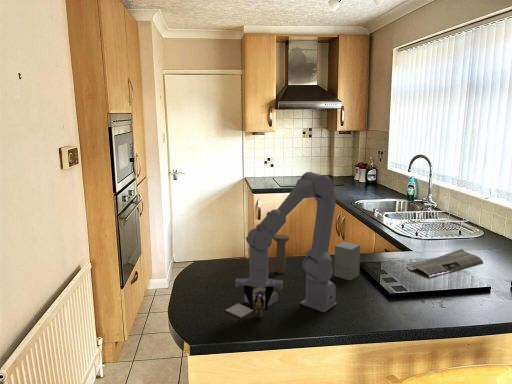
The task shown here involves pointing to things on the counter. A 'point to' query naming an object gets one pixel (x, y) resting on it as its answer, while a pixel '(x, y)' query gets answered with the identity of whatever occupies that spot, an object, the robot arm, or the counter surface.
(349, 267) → the supplement box
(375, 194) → the counter surface
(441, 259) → the newspaper
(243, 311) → the mat
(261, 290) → the block
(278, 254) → the handle
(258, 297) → the amber medicine bottle
